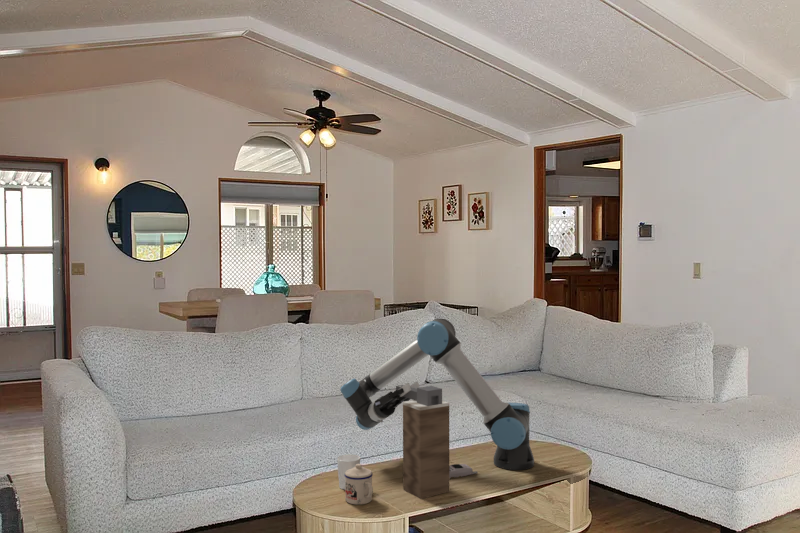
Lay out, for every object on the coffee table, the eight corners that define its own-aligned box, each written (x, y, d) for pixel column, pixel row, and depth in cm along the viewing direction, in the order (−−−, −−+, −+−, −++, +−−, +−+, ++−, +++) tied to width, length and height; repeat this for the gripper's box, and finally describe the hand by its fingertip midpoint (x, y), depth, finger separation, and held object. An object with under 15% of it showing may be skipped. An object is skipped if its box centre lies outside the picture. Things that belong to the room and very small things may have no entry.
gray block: (392, 394, 244) (392, 380, 244) (406, 392, 248) (406, 378, 247) (427, 406, 227) (427, 390, 227) (442, 403, 230) (442, 388, 230)
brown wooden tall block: (403, 489, 234) (402, 401, 233) (431, 483, 241) (431, 397, 240) (420, 498, 226) (420, 407, 225) (449, 491, 233) (449, 402, 232)
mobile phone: (407, 461, 247) (471, 454, 255) (407, 478, 247) (471, 470, 255) (413, 467, 241) (478, 459, 249) (413, 483, 241) (478, 475, 250)
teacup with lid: (339, 499, 226) (339, 463, 226) (362, 493, 232) (362, 458, 231) (359, 510, 217) (359, 473, 216) (383, 503, 222) (383, 467, 222)
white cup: (333, 485, 239) (333, 456, 239) (354, 481, 243) (354, 453, 243) (343, 492, 232) (343, 462, 232) (364, 488, 236) (364, 459, 236)
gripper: (403, 415, 259) (435, 393, 242) (366, 421, 250) (397, 399, 233) (397, 396, 262) (429, 373, 245) (360, 401, 253) (391, 378, 236)
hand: (413, 386), depth 239 cm, fingers closed on gray block, 3 cm apart
